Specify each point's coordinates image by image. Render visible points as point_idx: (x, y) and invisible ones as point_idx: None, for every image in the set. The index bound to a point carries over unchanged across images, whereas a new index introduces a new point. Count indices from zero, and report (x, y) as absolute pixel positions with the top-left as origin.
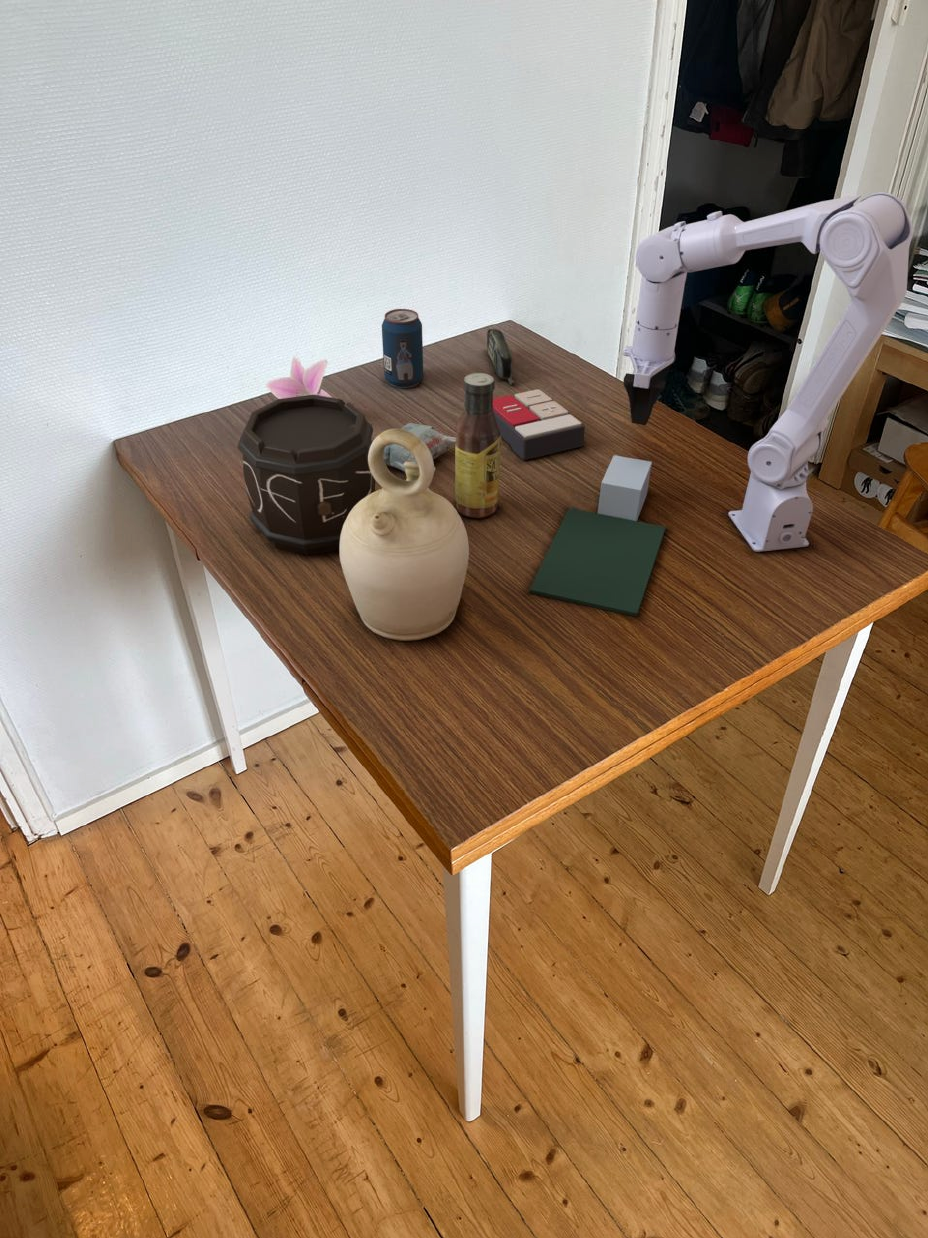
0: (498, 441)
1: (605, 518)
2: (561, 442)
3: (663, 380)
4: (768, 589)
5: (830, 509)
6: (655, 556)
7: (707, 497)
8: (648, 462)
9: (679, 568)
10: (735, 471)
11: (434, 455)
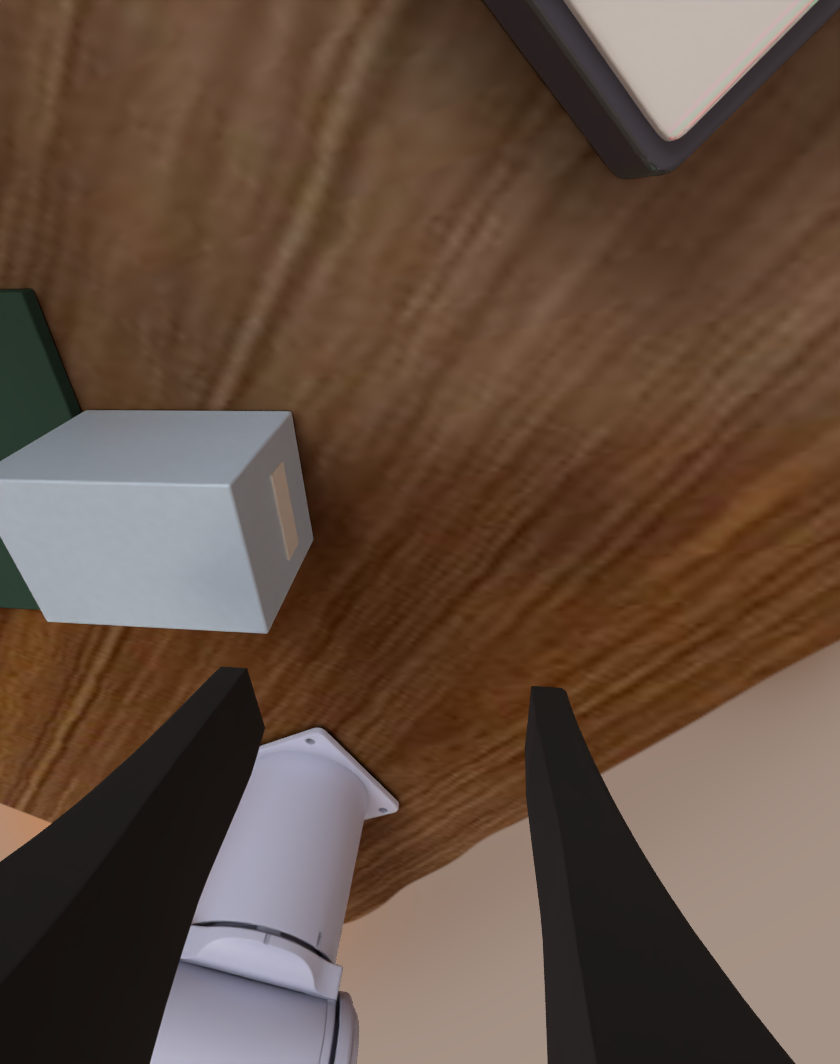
0: None
1: None
2: (520, 27)
3: (545, 966)
4: (101, 777)
5: (447, 864)
6: (6, 606)
7: (385, 683)
8: (253, 624)
9: (32, 648)
10: None
11: None
